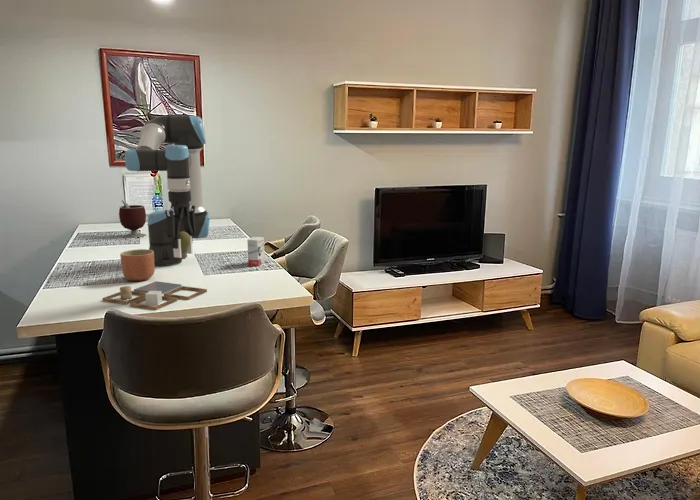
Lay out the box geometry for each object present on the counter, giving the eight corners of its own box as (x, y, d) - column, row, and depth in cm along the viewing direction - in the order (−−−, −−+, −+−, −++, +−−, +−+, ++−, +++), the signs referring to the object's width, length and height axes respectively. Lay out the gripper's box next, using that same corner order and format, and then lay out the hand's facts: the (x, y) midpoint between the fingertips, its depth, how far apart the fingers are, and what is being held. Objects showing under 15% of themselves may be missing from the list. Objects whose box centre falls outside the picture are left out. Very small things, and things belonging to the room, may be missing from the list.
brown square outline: (163, 296, 187) (163, 293, 187) (182, 288, 197) (182, 286, 197) (188, 299, 184) (188, 297, 183) (207, 291, 193) (206, 289, 193)
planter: (135, 285, 201) (133, 257, 199) (115, 280, 208) (113, 253, 205) (162, 277, 212) (160, 251, 209) (142, 273, 218) (140, 247, 216)
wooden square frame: (102, 300, 182) (102, 298, 181) (125, 292, 191) (125, 289, 191) (127, 304, 178) (126, 301, 178) (149, 295, 188) (149, 293, 188)
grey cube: (146, 305, 177) (145, 294, 177) (150, 301, 181) (149, 290, 181) (157, 305, 177) (157, 294, 177) (162, 302, 181) (161, 290, 180)
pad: (133, 291, 193) (133, 289, 193) (156, 282, 204) (156, 281, 204) (160, 294, 189) (160, 293, 189) (181, 286, 200) (181, 284, 200)
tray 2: (130, 306, 176) (130, 303, 176) (152, 297, 186) (152, 294, 186) (156, 309, 173) (155, 307, 172) (177, 300, 182) (177, 298, 182)
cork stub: (118, 299, 184) (117, 288, 183) (126, 296, 187) (125, 285, 186) (126, 300, 182) (125, 289, 182) (134, 297, 186) (133, 286, 185)
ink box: (258, 266, 231) (257, 240, 229) (247, 265, 232) (246, 239, 230) (265, 262, 240) (264, 236, 237) (254, 261, 241) (254, 236, 238)
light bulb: (177, 257, 190) (175, 229, 188) (193, 256, 191) (191, 229, 189) (173, 260, 185) (172, 233, 183) (190, 260, 185) (188, 232, 183)
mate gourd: (152, 236, 300) (150, 201, 295) (131, 239, 288) (128, 203, 284) (135, 233, 308) (132, 199, 303) (114, 236, 296) (110, 201, 292)
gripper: (170, 193, 173) (175, 262, 178) (204, 188, 189) (207, 250, 195) (152, 192, 175) (157, 260, 180) (187, 187, 192) (190, 248, 197)
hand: (183, 255), depth 188 cm, fingers closed on light bulb, 5 cm apart
